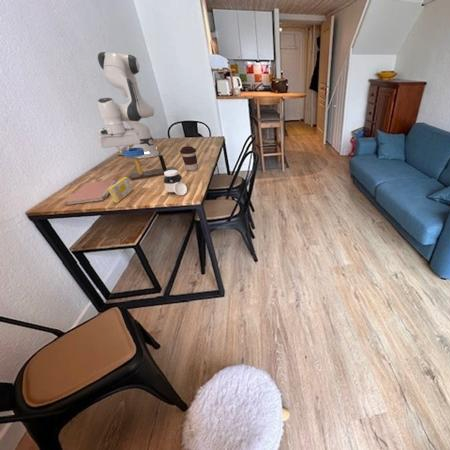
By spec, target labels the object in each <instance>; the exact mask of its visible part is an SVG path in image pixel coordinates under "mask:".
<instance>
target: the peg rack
mask: <svg viewBox="0 0 450 450" xmlns="http://www.w3.org/2000/svg"><path fill="white" fill-rule="evenodd" d="M158 158H159V162H160V166H161V167H160V168H156V169H149V170H143V168H142V165H141V162H140V159H139V158H135V157H134V158H133V161H134V163H135V164H134V165H135V166H136V170H137V172H131V173H130V180H131V181H136V180H142V179H147V178H153V177H154V178H155V177H159V176H165V175H164V172H165V171H168V170H176V169H175V167H174V166H168V167H167V166H166V163H165V159H164V156H163V154H159V155H158Z"/></svg>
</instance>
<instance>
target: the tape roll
mask: <svg viewBox="0 0 450 450" xmlns="http://www.w3.org/2000/svg"><path fill="white" fill-rule="evenodd" d="M122 150H123V153H124V154H123V155H124V156H123V157H125V158H135V157H138V156H142V155H144V150H143V148H132V147H129V151H126V150H127V148H125V149H122Z"/></svg>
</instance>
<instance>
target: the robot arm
mask: <svg viewBox="0 0 450 450" xmlns="http://www.w3.org/2000/svg"><path fill="white" fill-rule="evenodd" d="M97 62H98V65H99V66H100V68H101V69H102V70H103V76H104V79H105V80H106V81H107V83H108V84H109V85H111V86H112V87H114V88H117V89H119V90H120V93H121V95H123V96H124V97H125V98H128V102H123V103H122V102H121V103H118V102H117V103H116V102H115V100H114V99H113V98H111V97H103V98H99V99H98V100H97V106H98V110H99V113H100V115H101V118H102V119H103V121H104V125H105V127H102V128H99V129H98V131H97V133H98V135H99V136H98V141H99V144H100V147H101V148H102V149H108V148H115V149H116V150H118V151H119V152H120V154H117V155H118V156H119V157H125V156H124V153H123V150H124V149H120V147H124V146H125V147H126V149H127V150H126V151H129V148H130V146H132V147H131V148H143V150H144V155H142V156H138V157H134V159H135V158H138V159H139V160H140V159H150V158H154V157H157V156H158V155H160V152H159V150H158V148H157V146H156V143H155V142H154V138H153V136H152V133H151V131H150V130H151V129H150V128H149V126H148V125H147V124H144V123H142V122H139V121H140V120H141V119H148V118H151V117H153V116H154V115H155V108H154V107H153V105H152V104H151V103H150V102H149V101H147V100H145V99H144V98H143V96H142V94H141V92H140V90H139V85H138V82H137V78H136V74H138V73H139V72H140V67H141V66H140V63H139V61H138V58H137V57H136V56H135V55H132V54H126V53H122V52H111V51H110V52H105V51H100V52H99V53H98V54H97ZM124 122H125V123H126V124H127V125H128V126H129V127H130V128H125V127H126V126H125V125H124ZM158 157H159V156H158Z"/></svg>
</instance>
